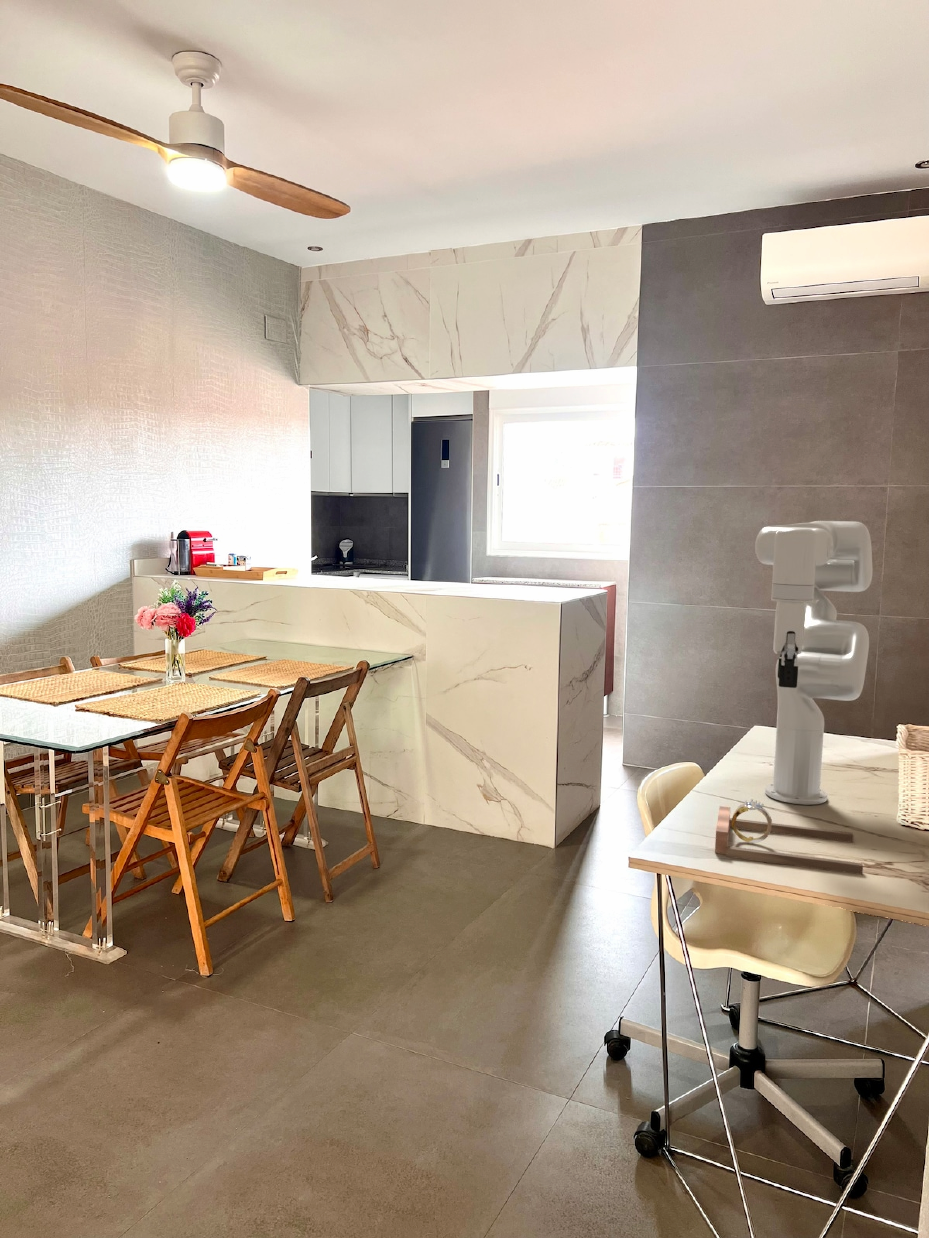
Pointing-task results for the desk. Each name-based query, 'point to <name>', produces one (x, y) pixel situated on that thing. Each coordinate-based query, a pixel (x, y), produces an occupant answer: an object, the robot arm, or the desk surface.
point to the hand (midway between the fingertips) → (786, 682)
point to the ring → (744, 808)
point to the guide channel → (781, 858)
